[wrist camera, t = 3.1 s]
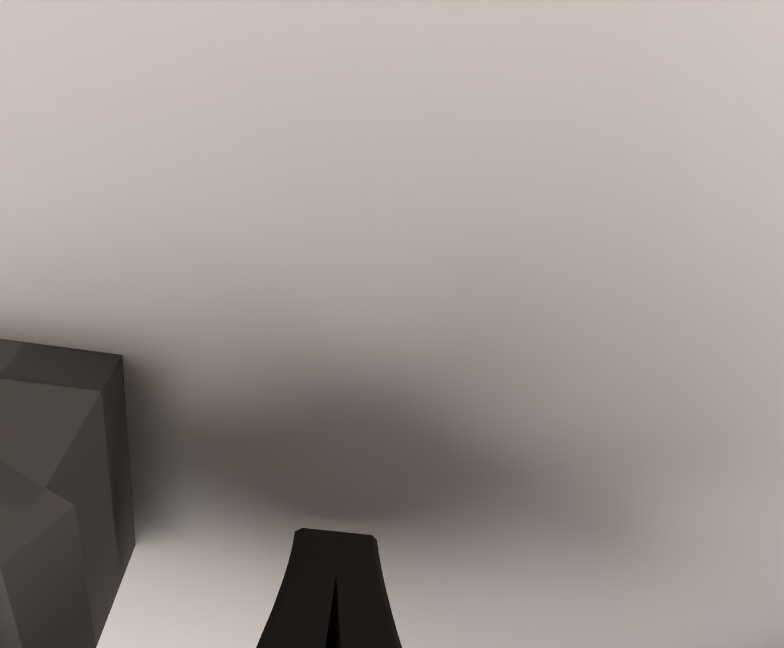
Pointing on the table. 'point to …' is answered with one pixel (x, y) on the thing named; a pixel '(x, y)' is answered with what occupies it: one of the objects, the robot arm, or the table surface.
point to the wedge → (61, 494)
